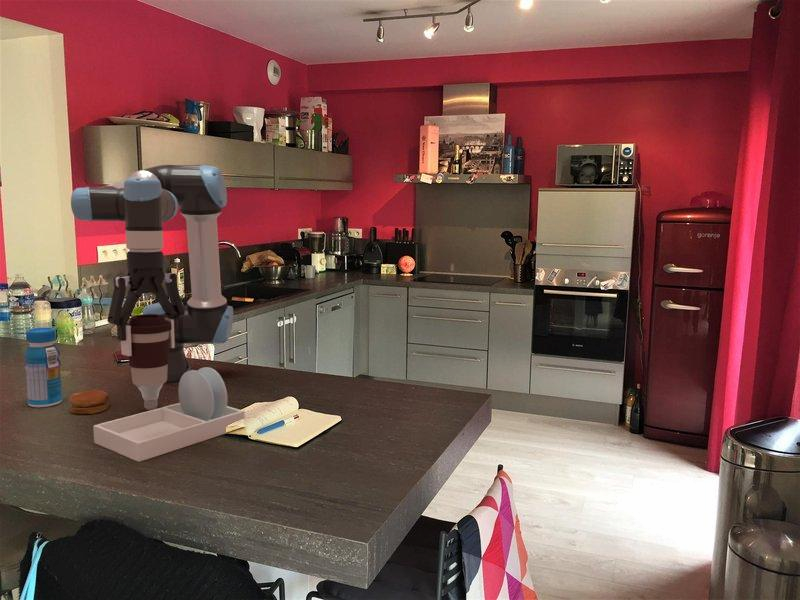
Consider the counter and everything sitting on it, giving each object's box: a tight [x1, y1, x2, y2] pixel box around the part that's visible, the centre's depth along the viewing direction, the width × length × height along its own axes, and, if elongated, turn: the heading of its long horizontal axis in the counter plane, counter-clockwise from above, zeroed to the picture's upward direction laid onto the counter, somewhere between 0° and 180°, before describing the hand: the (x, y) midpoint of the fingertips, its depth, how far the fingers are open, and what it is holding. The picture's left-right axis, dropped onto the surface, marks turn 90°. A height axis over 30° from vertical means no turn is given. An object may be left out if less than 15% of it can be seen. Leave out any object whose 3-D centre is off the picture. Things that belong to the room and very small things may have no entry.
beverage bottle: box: [23, 326, 63, 408], centre depth 173 cm, size 8×8×20 cm
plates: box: [177, 366, 228, 421], centre depth 158 cm, size 4×13×13 cm, turn 53°
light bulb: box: [136, 383, 165, 411], centre depth 168 cm, size 7×7×12 cm
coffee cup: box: [127, 313, 172, 387], centre depth 145 cm, size 10×10×15 cm
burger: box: [68, 389, 110, 415], centre depth 170 cm, size 10×9×5 cm
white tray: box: [93, 402, 246, 463], centre depth 152 cm, size 28×18×4 cm, turn 143°
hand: (148, 351), depth 145 cm, fingers closed on coffee cup, 10 cm apart
